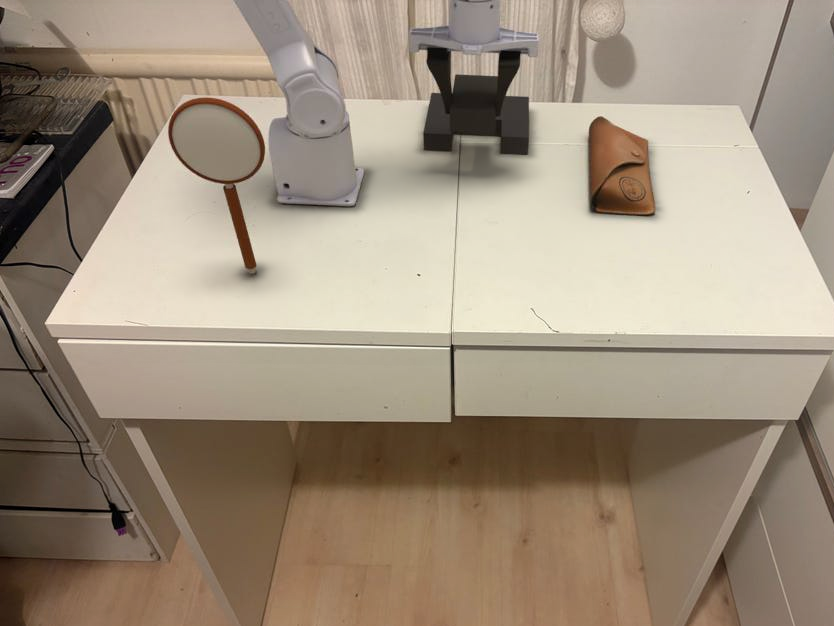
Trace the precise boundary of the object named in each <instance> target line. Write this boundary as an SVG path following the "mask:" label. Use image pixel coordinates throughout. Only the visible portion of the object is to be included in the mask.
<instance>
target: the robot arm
mask: <svg viewBox="0 0 834 626" xmlns="http://www.w3.org/2000/svg"><path fill="white" fill-rule="evenodd" d="M233 2H234V4H235V5H236V7H237V8H238V11H239V12H240V13H241V16H242V17H243V18H244V20H245V22H246V24H247V25H248V27H249V28H250V31H251V32H252V33H253V35H254V37H255V39H256V40H257V42H258V43H259V45H260V47H261V48H262V50H263V52H264V54H265V55H266V57H267V59H268V61H269V64H270V67H271V70H272V72H273V75H274V77H275V80H276V83H277V86H278V87H279V89H280V91H281V92H282V94H283V96H284V98H285V102H286V103H285V104H286V115H285V116H283V117H276V118H273V119H272V120H271V121H270V125H269V129H268V138H267V139H268V152H269V158H270V162H271V167H272V172H273V176H274V181H275V186H276V190H277V194H278V195H277V197H276V200H277V202H278V203H279V204H293V205H295V204H296V205H318V206H341V207H353V206H355V205H356V202H357V199H358V196H359V193H360V189H361V186H362V182H363V178H364V176H365V169H364V168H363V167H356V164H355V155H354V154H355V153H354V147H353V139H352V131H351V122H350V115H349V112H348V111H347V107H346V101H345V99H344V97H343V95H342V91H341V86H340V82H339V78H340V77H339V70H338V68H337V67H338V66H337V65H336V63H335V61H334V60H333V59H332V57H331V56H330V55H328V54H327V53H326V52H325V51H323V50H321V48H319V47H318V46H317V44H316V43H315V41H314V40H313V37H312V35H311V34H310V33H309V32H308V30H306V28H304V26H303V25H302V23H301V21H300V20H299V18H298V16H297V14H296V12H295V10H294V8H293V7H292V5H291V3H290V1H289V0H233ZM447 4H448V5H447V7H448V12H447V13H448V15H447V16H448V17H447V18H448V19H447V21H448V25H440V26H431V27H410V29H409V32H408V51H409V53H419V52H420V51H426V61H425V62H426V65H427V68H428V70H429V72H430V73H431V76H432V77H433V79H434V81H435V83H436V85H437V87H438V90H439V93H441V96H442V99H443V103H444V108H445V114H450V106H451V100H452V92H453V87H452V52H462V54H463V55H465V56H481V55H482V53H484V54H498V62H497V76H498V86H497V93H496V104H495V108H496V109H495V116H501V109H502V105H503V102H504V99H505V96H507V93H508V90H509V89H510V86H511V83H512V82H513V80H514V78H515V77H516V75H517V74H518V72H519V69H520V67H521V56H522V55H527V57H528V58H538V55H539V43H540V34H539V33H537V32H529V31H521V30H515V29H511V28H505V27H501V6H502V5H501V4H502V0H447Z"/></svg>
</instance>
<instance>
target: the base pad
mask: <svg viewBox="0 0 834 626" xmlns="http://www.w3.org/2000/svg"><path fill="white" fill-rule="evenodd" d="M422 135H423V151H437V152H440V151H441V152H452V148H453V142H454V135H465V136H487V137H500V149H499V153H500V154H504V155H505V154H506V155H507V154H508V155H510V154H511V155H528V154H529V143H530V142H529V141H530V97H529V96H521V95H520V96H519V95H506V96H505V99H504V102H503V105H502V109H501V116H496V119H495V133H472V132H450V114H445V108H444V103H443V99H442V96H441V93H440V92H431V93H430V98H429V102H428V108H427V113H426V118H425V122H424V128H423V132H422Z"/></svg>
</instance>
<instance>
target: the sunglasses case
mask: <svg viewBox="0 0 834 626" xmlns="http://www.w3.org/2000/svg"><path fill="white" fill-rule="evenodd" d="M588 127H589V128H588V159H589V161H588V163H589V200H590V205H591V206H592V208H593V210H594V211H596V212H597V213H602V214H609V215H621V216H648V215H653V214H655V213H656V202H655V195H654V190H653V185H652V180H651V171H650V159H649V140H648V139H646V138H644V137H642V136H639V135H638V134H635V133H633V132H631V131H629V130H627V129H624V128H622V127H620V126H617V125H616V124H614V123H612V121H610V120H608V119H607V118H606V117H604V116H602V115H601V116H600V115H599V116H597V117H595V118H594V119H593V120H592V121H591V122H590V124H589V126H588Z"/></svg>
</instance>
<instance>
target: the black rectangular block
mask: <svg viewBox="0 0 834 626" xmlns="http://www.w3.org/2000/svg"><path fill="white" fill-rule="evenodd" d="M497 86H498V75H479V74H477V75H476V74H455V75H454V80H453V87H452V100H451V106H450V132H472V133H495V119H496V116H495V109H496V108H495V104H496V93H497Z"/></svg>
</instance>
